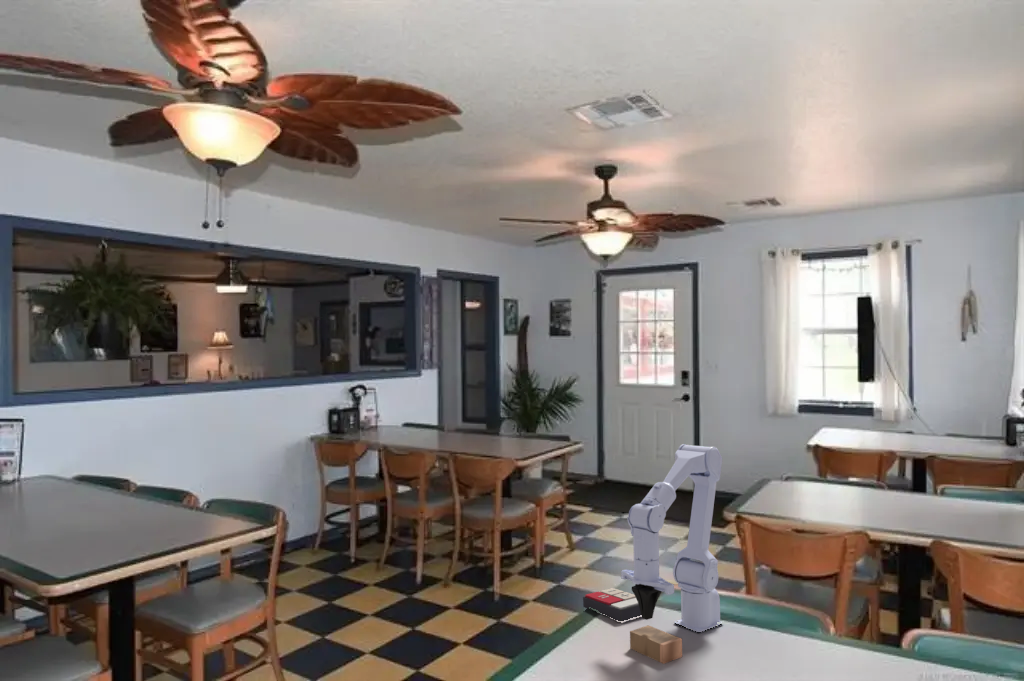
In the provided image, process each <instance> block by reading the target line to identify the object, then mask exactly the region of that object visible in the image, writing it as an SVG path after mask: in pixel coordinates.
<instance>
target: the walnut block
mask: <svg viewBox="0 0 1024 681" xmlns="http://www.w3.org/2000/svg"><path fill="white" fill-rule="evenodd" d="M629 643H630V644H629V646H630V647H629V648H630V650H632V649H633V650H632V651H634V650H635V652H636V651H637V652H636V653H638V654H641V655H643V656H645V657H648V658H650V659H652V660H655V661H656V662H659V663H661V664H667V663H669V662H672V660H673V661H675V660H678V659H681V658H682V657H683V639H682V638H681V637H679V636H676V635H674V634H671V633H668V632H666V631H663V630H661V629H658V628H656V627H654V626H651V625H650V624H649V625H645V626H642V627H639V628H635V629H633V630H630V631H629Z"/></svg>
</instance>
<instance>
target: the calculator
mask: <svg viewBox="0 0 1024 681" xmlns="http://www.w3.org/2000/svg"><path fill="white" fill-rule="evenodd" d="M582 600H583V601H582V605H583V608H585V609H588V608H589V607H591V608H593V609H596V610H598V611H599V612H600V613H602V614H605V615H607V616H609V617H611V618H613V619H615V620H618V621H624V620H628V619H630V618H633V617H637V616H640V615H641V611H640V607H639V604H638V601H637V599H636V597H635V595H634V593H630V592H627V591H624V590H621V589H617V588H616V587H615V588H614V587H611V588H607V589H603V590H600V591H595V592H594V591H593V592H592V593H591V592H590V593H587V594H584V596H583V597H582ZM591 608H590V609H591ZM588 610H589V609H588ZM609 617H608V618H609Z"/></svg>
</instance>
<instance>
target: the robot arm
mask: <svg viewBox="0 0 1024 681" xmlns="http://www.w3.org/2000/svg"><path fill="white" fill-rule="evenodd" d="M722 464H723V457H722V455H721V453H720V450H719V449H718V448H717V446H702V445H691V444H685V443H682V444H680V445H679V446H678V448H677V450H676V451H675V453H674V463H673V465H672V466H671V468H670V469H669V471H668V473H667V474H666V476H665V478H664V480H662V481H658V482H656V483H655V482H654V485H653V486H652V488H651V489H650V490H649V492H647V494H646V495H645V497H644V498H643V499H642V500H641V502H640V503H635V504H634V505H632V506H631V507H630V509H629V511H628V516H627V518H626V519H627V524H628V526H629V528H630V534H631V536H632V537H633V540H632V541H633V542H632V543H633V570H631V569H622V570H621V571H620V573H621V574H620V575H621V576H620V577H621V579H622V580H628V581H630V582H631V583H632V584H634V585H633V586H631V592H632V594H634V595H635V597H636V599H637V601H638V604H639V607H640V611H641V615H642V618H641V619H644V620H647V621H648V620H650V619H653V618H654V613H655V609H656V608H655V607H656V605H657V602H658V600H659V597H660V596H661V594H662V593H664V594H665V595H666V596H667V595H668V596H670V595H672V594H675V584H673V583H671V582H669V581H667V580H666V579H664V578H662V577H661V576H660V540H659V539H660V536H659V533H660V531H661V530H662V528H663V527H664V524H665V518H666V516H667V511H668V510H669V508H670V507H671V506H672V504H673V503H674V502H675V500H676V499H677V493H676V491H677V489H678V488H680V486H681V485H682V484H683V483H684V482H685V481H686V479H688V477H689V479H691V480H692V482H693V484H694V489H693V498H692V504H691V513H690V519H689V528H688V537H687V545H686V547H684V548H682V549H681V550H679V551H678V552H677V557H676V560H675V563H674V564H673V568H672V576H673V580H674V581H675V583H677V587H678V588H680V607H681V608H680V609H681V610H680V615H681V618H680V619H678V620H674V621H673V624H674V623H676V624H679V625H682V626H684V627H687V628H689V629H692V630H693V631H692V630H691V631H692V632H695V631H696V632H695V633H697V632H701V633H703V632H705V630H706V631H708V630H707V629H709V630H711V629H710V628H712V627H714V628H716V627H715V626H716V625H719V624H717V622H721V623H722V622H723V621H721V600H720V595H719V592H718V590H717V589H716V587H717V585H718V582H719V570H718V563H719V561H718V559H717V558H716V557H715V555H713V553H711V551H710V550H709V548H710V539H711V531H712V530H711V529H712V525H713V524H712V523H713V522H712V521H713V515H714V508H715V507H714V504H715V496H716V491H717V483H718V482H719V481H720V480H721V473H722ZM696 560H697V561H696ZM699 561H700V562H699ZM676 621H678V622H676ZM721 623H720V624H721ZM676 624H675V625H676ZM679 625H678V626H679ZM682 626H681V627H682ZM684 627H683V628H684ZM687 628H686V629H687ZM689 629H688V630H689ZM712 629H713V628H712ZM702 631H703V632H702Z"/></svg>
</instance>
